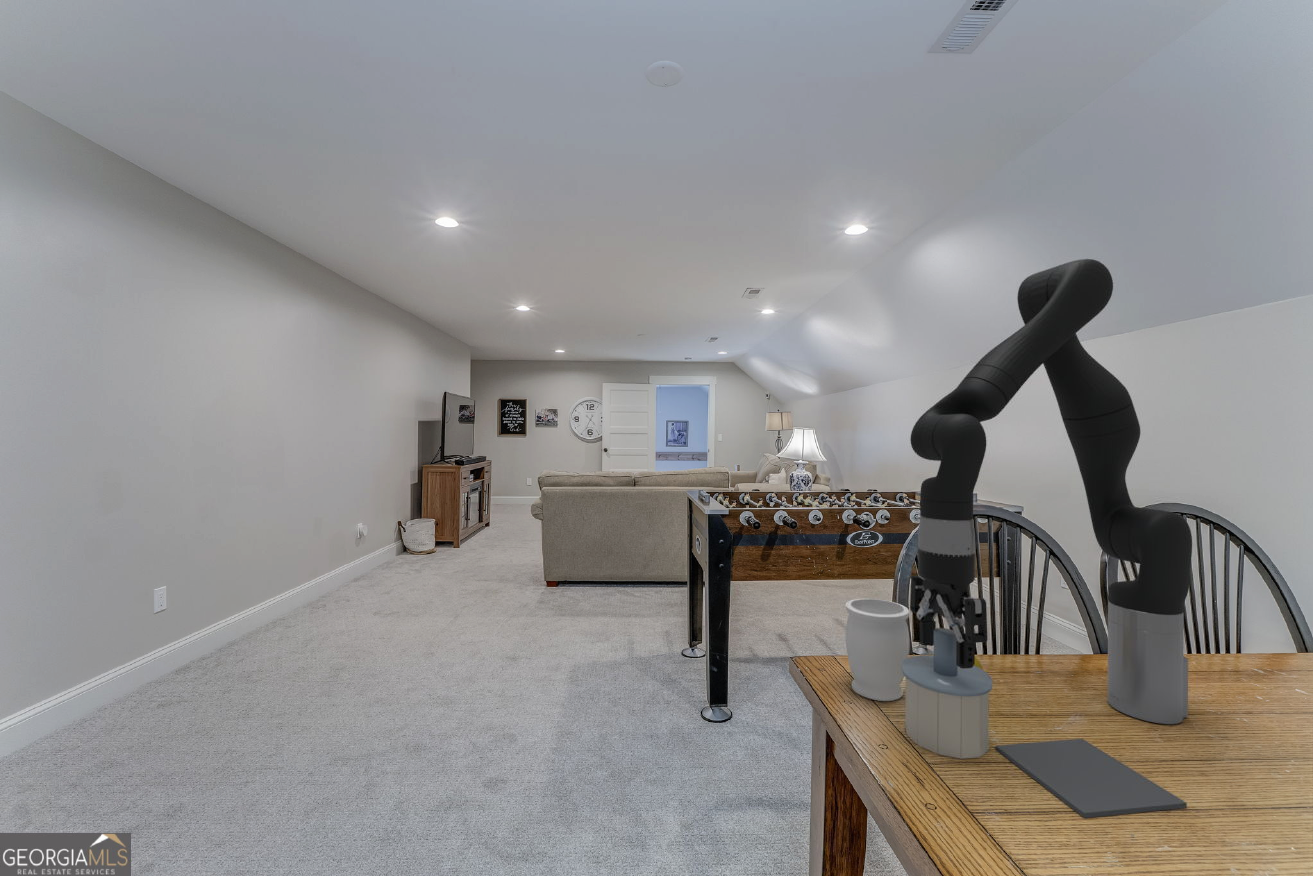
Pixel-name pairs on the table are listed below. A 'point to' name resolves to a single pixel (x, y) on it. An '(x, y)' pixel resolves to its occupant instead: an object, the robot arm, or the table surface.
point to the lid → (946, 669)
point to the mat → (1089, 778)
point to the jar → (877, 647)
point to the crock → (947, 722)
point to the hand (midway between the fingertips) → (945, 655)
